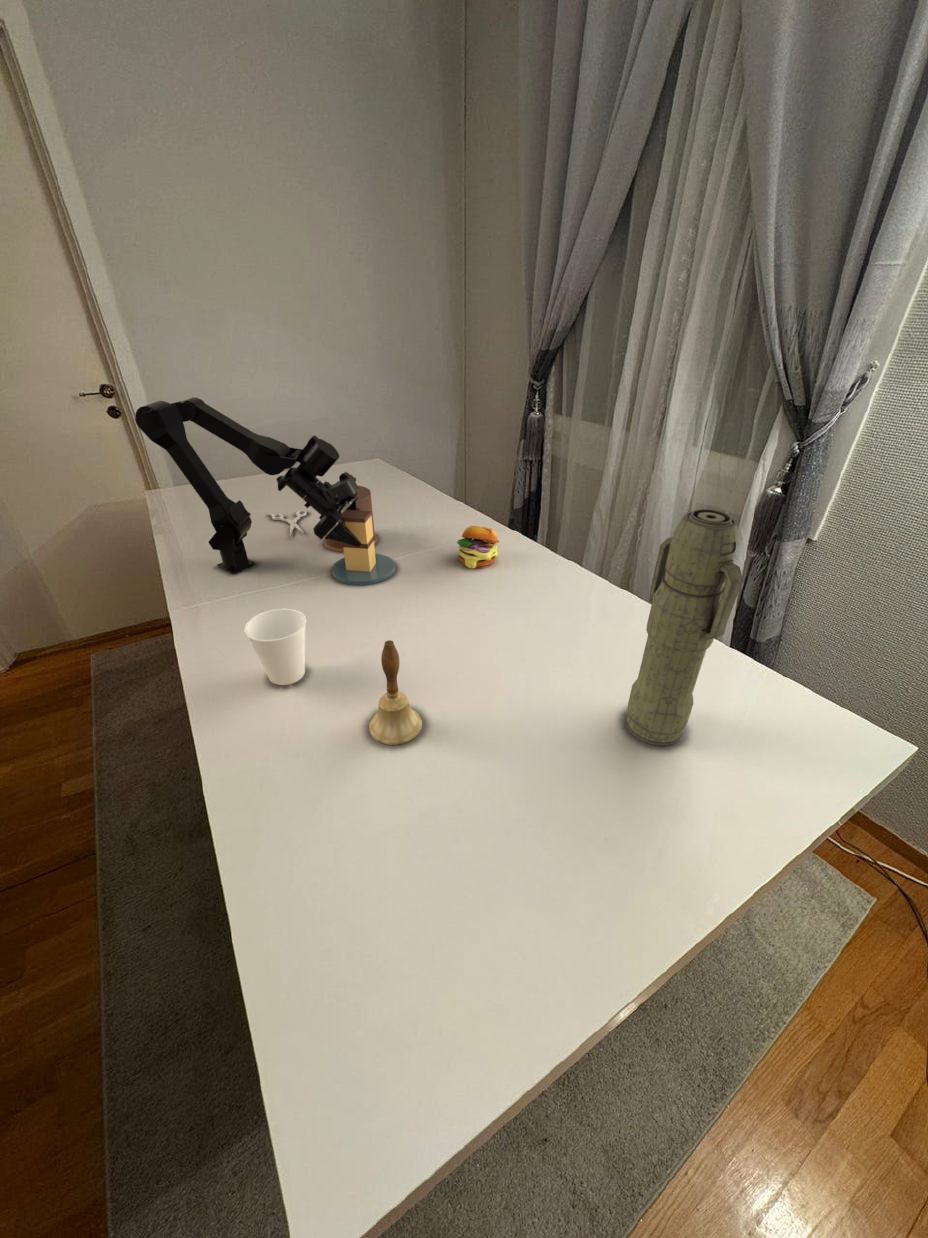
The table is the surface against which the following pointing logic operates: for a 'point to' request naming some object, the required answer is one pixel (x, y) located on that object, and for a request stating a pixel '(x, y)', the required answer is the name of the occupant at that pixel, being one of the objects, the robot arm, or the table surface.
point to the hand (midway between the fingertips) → (364, 537)
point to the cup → (279, 643)
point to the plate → (377, 574)
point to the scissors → (292, 522)
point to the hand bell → (393, 706)
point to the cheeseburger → (478, 546)
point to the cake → (363, 505)
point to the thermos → (683, 622)
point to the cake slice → (363, 530)
